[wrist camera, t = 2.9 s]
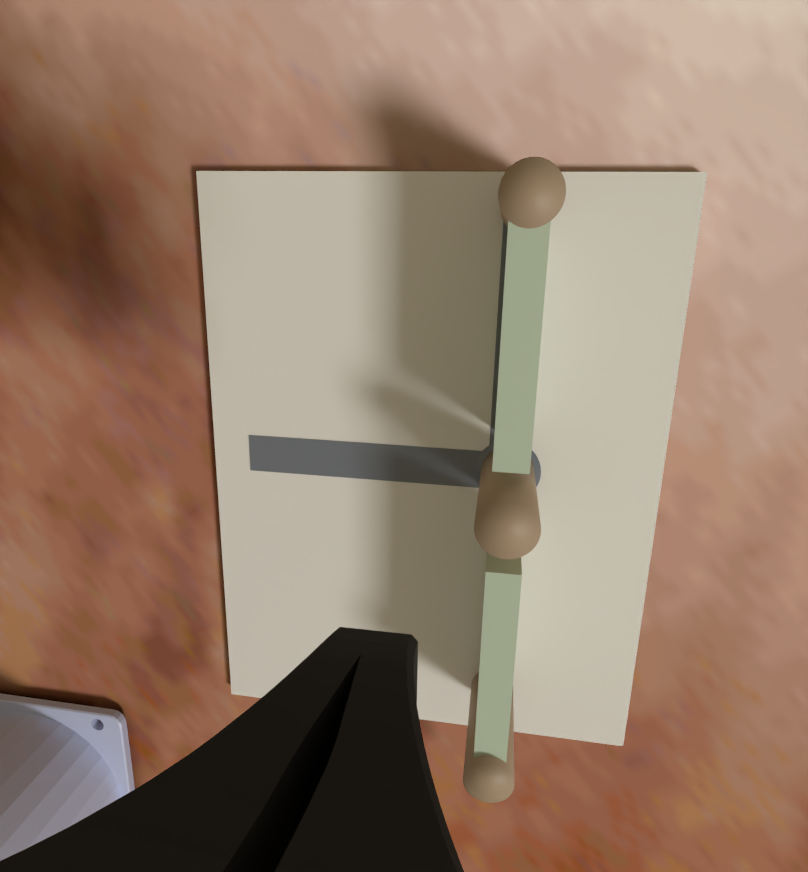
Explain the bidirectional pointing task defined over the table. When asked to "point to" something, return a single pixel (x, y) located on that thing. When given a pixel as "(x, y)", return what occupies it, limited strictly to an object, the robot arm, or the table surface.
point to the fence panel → (494, 687)
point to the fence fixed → (518, 361)
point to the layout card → (439, 422)
